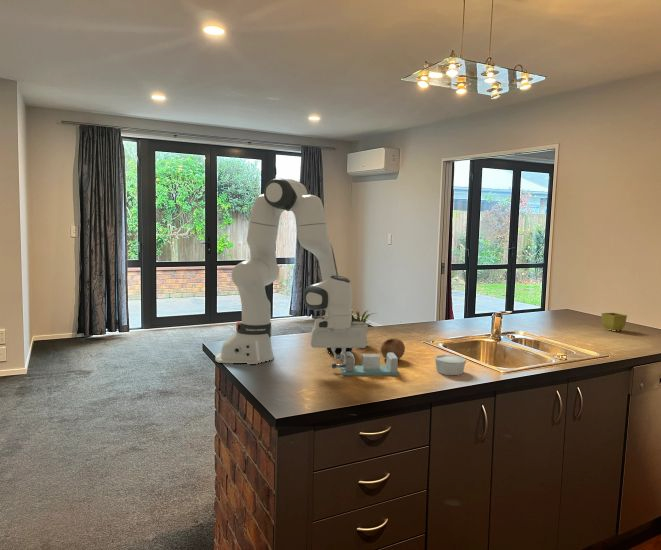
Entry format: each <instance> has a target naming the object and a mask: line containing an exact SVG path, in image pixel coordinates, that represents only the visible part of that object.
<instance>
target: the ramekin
mask: <svg viewBox="0 0 661 550" xmlns="http://www.w3.org/2000/svg"><path fill="white" fill-rule="evenodd" d="M434 362H435V369H436V371H437V373H439V374H441V375H444V376H449V375H458V376H461V375H462V374H463V373H464V371H465V365H466V363H467V360H466V358H464V357H462V356H459V355H455V354H440V355H439V354H438V355H436V356H435V357H434ZM460 374H461V375H460Z"/></svg>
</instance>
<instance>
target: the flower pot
mask: <svg viewBox="0 0 661 550" xmlns="http://www.w3.org/2000/svg"><path fill="white" fill-rule="evenodd" d="M600 314H601V322H602V323H601V324H602V326H603V327H604V329H605V328H606V329H611V330H621V331H622V330H623V329H624V327H625V325H626V322H627V317H628V315H627V314H621V313H617V312H603V313H600ZM606 329H605V330H606Z"/></svg>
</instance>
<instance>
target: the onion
mask: <svg viewBox="0 0 661 550" xmlns="http://www.w3.org/2000/svg"><path fill="white" fill-rule="evenodd" d="M405 349H406V347H405V344H404V342H403V341H402V340H401V339H399V338H396V337H392V338H388V339H386V340H385V341H383V342H382V344H381V346H380V352H381V355H382V357H383V358H384V359H386V360H387V354H388V353H394V354H395V355H396V357H397V358H398V360H399V359H401V358H402V357H403V355H405V351H406V350H405Z"/></svg>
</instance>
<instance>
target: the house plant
mask: <svg viewBox="0 0 661 550" xmlns="http://www.w3.org/2000/svg"><path fill="white" fill-rule="evenodd" d="M354 312H355V313H356V319H355V317H354V316H353V322H364V323H367V321H368V318H369V317H371V315H374V314H376V313H375V312H374V313H373V312H372V313H368V312H370V310H369V309H367V310H365V311H364V312H363V314H362V316H360V310H354ZM367 313H368V314H367ZM367 325H368V328H369V327H371V326H370V325H372V323H367Z"/></svg>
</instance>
